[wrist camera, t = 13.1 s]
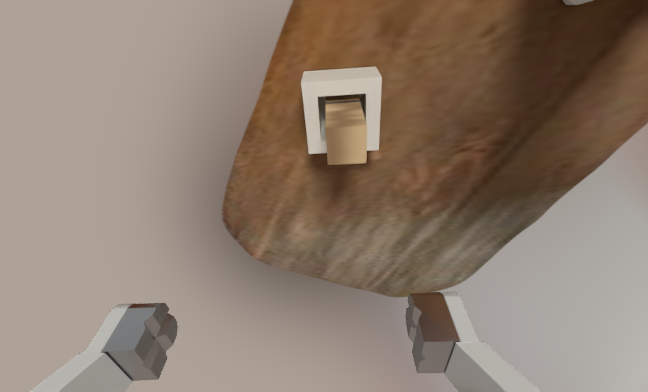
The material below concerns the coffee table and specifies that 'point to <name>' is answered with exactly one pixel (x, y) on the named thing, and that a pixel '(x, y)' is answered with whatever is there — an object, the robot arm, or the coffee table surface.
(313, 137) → the socket board
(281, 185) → the coffee table surface
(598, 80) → the coffee table surface
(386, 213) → the coffee table surface
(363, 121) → the oak peg
